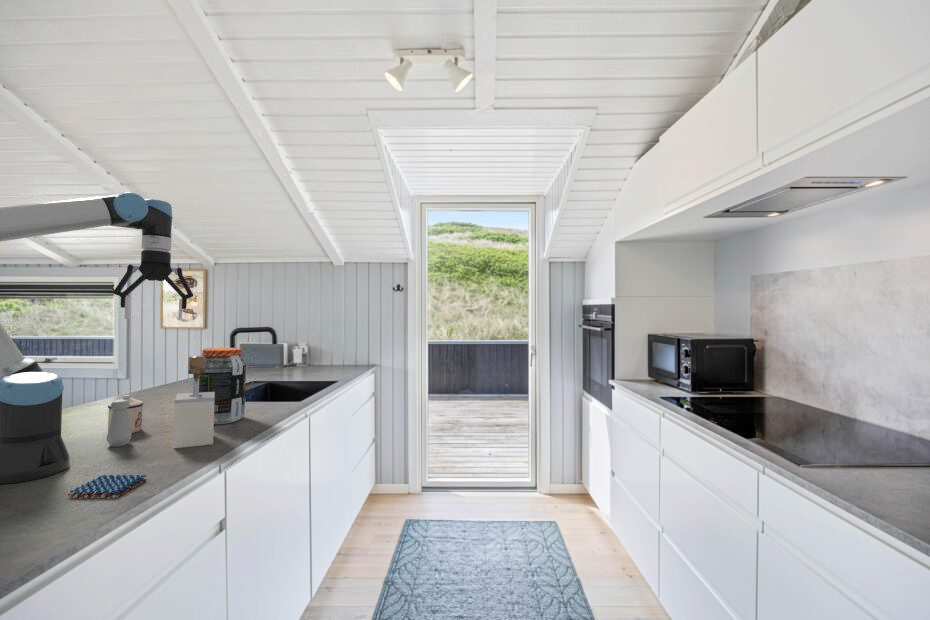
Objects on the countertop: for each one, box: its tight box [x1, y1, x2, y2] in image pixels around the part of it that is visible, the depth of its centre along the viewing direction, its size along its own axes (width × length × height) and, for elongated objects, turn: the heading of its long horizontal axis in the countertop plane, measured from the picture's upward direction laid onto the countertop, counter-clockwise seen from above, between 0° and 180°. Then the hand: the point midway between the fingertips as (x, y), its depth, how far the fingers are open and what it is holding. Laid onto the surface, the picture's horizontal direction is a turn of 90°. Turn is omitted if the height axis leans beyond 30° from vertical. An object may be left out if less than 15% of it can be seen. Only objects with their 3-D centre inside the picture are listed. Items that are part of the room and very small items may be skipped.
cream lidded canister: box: [107, 394, 144, 434], centre depth 143 cm, size 12×9×12 cm
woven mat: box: [67, 474, 147, 500], centre depth 99 cm, size 10×11×2 cm
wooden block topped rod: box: [187, 355, 205, 397], centre depth 134 cm, size 7×7×24 cm
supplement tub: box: [199, 347, 247, 425], centre depth 159 cm, size 16×16×26 cm
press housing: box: [172, 392, 215, 449], centre depth 134 cm, size 10×10×14 cm
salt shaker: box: [106, 399, 132, 448], centre depth 129 cm, size 6×6×13 cm
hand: (154, 319), depth 136 cm, fingers open, 13 cm apart
